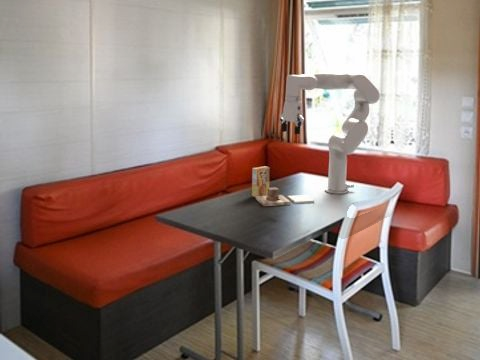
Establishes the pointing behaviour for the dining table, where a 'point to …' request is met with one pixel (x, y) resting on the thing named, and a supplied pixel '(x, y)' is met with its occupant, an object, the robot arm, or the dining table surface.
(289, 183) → the dining table surface
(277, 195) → the walnut block
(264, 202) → the pocket plate
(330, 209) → the dining table surface
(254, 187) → the candy box
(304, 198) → the board
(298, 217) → the dining table surface
